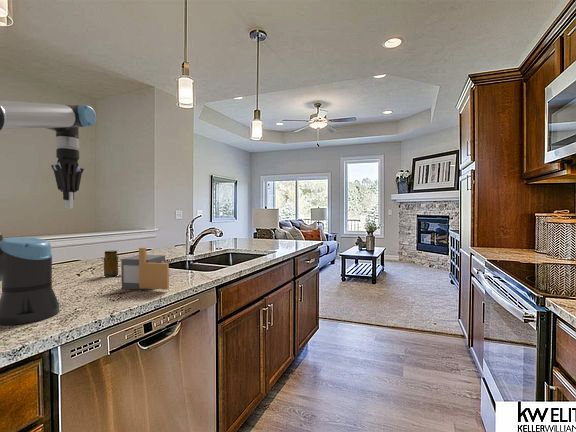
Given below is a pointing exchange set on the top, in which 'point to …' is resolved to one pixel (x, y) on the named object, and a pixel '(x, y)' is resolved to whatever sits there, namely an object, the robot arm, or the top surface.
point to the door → (152, 273)
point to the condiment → (111, 264)
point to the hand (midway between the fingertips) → (69, 208)
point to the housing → (136, 270)
